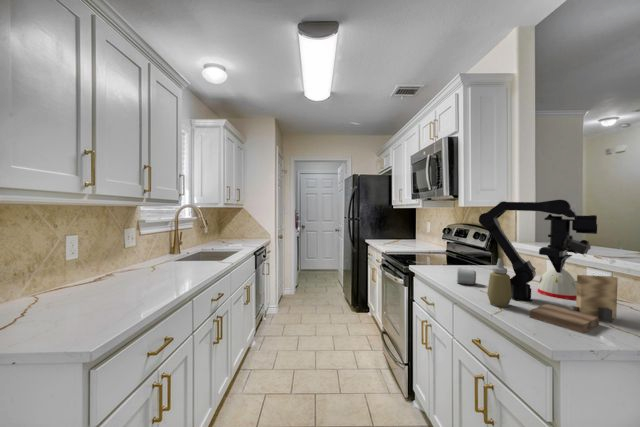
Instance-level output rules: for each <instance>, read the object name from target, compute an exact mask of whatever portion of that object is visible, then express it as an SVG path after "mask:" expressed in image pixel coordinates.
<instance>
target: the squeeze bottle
mask: <svg viewBox="0 0 640 427" xmlns="http://www.w3.org/2000/svg"><path fill="white" fill-rule="evenodd" d="M510 279H511V276H510V275H509V274H508V268H506V267H505V266H504V262H503V259H502V258H497V263H496V266H494V267H492V272H490V274H489V278H488V286H487V292H486V295H487V297H488V301H489V303H490V304H491V305H492V306H496V307H501V308H502V307H503V308H507V307H509V304H510V302H511V300H512V294H511V283H510Z"/></svg>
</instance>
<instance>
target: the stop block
mask: <svg viewBox="0 0 640 427" xmlns="http://www.w3.org/2000/svg"><path fill="white" fill-rule="evenodd" d="M599 321H602V322H608V323H609V322H610V323H612V322H613V318H612V310H611V309H609V308H600V307H599Z"/></svg>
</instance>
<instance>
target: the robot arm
mask: <svg viewBox="0 0 640 427" xmlns="http://www.w3.org/2000/svg"><path fill="white" fill-rule="evenodd" d="M571 208H572V205H571V204H570V202H569V201H567V200H565V199H554V200H545V201H538V202H537V201H534V202H533V201H505V200H504V201H499V203H498V204H496V205H495V206H494V207H492V208H491V209H489V210H488V211H486V212H484V213H481V214H480V215H479V217H478V222H479V224H480V225H481V226H482V227H483V228H484V229H485V230H486V231H487V232H488V233H489V234H491V235H492V236H493V238H494V240H495V241H496V243H497V244H498V245H499V247H500V248H501V250H502V251H503V254H504V255H505V256H506V257H507V260H509V262H510V263H511V265H512V270H513V272H514V274H515V275H513V276H511V277H510V283H511V294H512V298H511V300H514V301H522V302H523V301H526V302H533V299H531V298H532V288H531V285H530V284H529V283H530V282H532V281H533V280H534V278H536V275H537V273H536V269H537V268H535V267H534V266H533V264H532V262H531V260H527V261H526V260H525V259H523V258H522V257H521V255H520V254H519V252H518V251H517V249H516V248H515V247H514V245H513V244H512V243H511V241H510V240H509V238H508V237H507V236H506V233H504V231H503V230H502V228H501V225H500V224H501V223H500V221H499V220H498V219H499V218H500V217H501V216H502V215H504V214H505V213H506V212H507V211H522V212H542V213H547V214H548V215H547V216H546V217H544V221H550V225H549V226H550V228H549V229H550V230H549V231H550V232H549V233H548V235H547V237H548V238H549V244H548V245H547V246H542V247H540V248H539V249H538V255H541V256H547V258H548V259H549V261H550V262H551V266H553V268H555V270H556V272H557V273H561V271H562V269H564V265H565V263H566V261H567V260H568V259H569V258H571V257H573V254H569V253H574V254H575V255H576V254H579V255H585V254H586V255H587V254H588V252H589V250H591V249H592V247H591V246H592V245H591V244H590V241H588V240H586V239H582V240H575V239H574V236H573V235H571V232H570V231H571V229H572V231H575V233H576V234H586V235H587V234H588V235H590V234H591V235H597V234H598V222H597V221H598V219H597V218H598V217H597V214H596V215H595V214H591V215H577V213H576V212H575V211H573V210H572V209H571ZM553 214H554V215H553ZM560 215H561V216H560ZM562 215H563V216H565V217H567V218H564V217H563V216H562ZM571 222H572V224H571ZM571 226H572V227H571Z"/></svg>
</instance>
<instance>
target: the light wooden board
mask: <svg viewBox="0 0 640 427" xmlns="http://www.w3.org/2000/svg"><path fill="white" fill-rule="evenodd" d="M576 276H577V277H576V281H577V299H575V301H576V303H575V305H570V306H569V308H570V309H569V310H573V311H577V312H581V313H585V314H589V315H593V316H597V317H599V307H600V308H609V309H611V310H612V319H617V312H618V310H617V307H618V282H619V281H618V280H619V278H618V277H615V276H611V275H610V276H609V275H608V276H607V275H584V274H582V275H581V274H577V275H576Z"/></svg>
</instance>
